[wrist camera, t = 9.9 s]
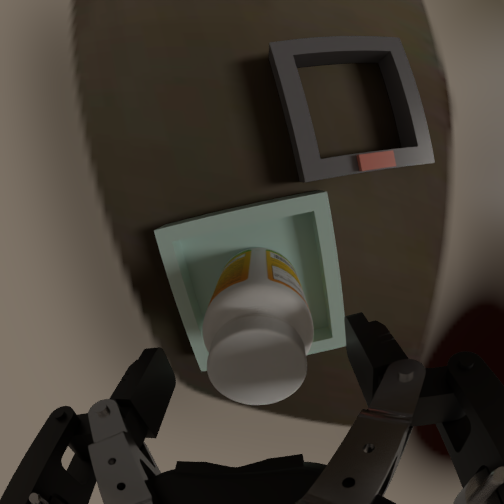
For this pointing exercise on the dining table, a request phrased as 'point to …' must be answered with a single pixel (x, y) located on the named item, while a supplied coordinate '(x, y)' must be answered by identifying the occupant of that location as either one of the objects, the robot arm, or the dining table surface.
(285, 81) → the socket collar
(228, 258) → the tray
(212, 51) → the dining table surface
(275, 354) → the supplement bottle
